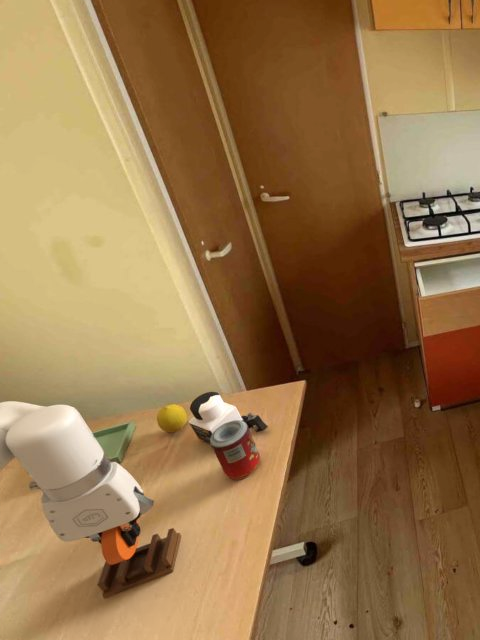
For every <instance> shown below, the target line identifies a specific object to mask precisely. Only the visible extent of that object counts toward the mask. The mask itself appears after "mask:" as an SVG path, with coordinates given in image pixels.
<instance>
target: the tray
mask: <svg viewBox="0 0 480 640" xmlns="http://www.w3.org/2000/svg"><path fill="white" fill-rule="evenodd" d="M135 430H136V425H135V423H134V421H133V420H130V421H127V422H124V423H119V424H116V425H112V426H108V427H105V428H101V429H98V430H94V431H91V432H92V434H93V435H94V437H95V438H96V440H97V441H98V443H99V444H100V446H101V448H102V449H103V451H104V452H105V454H106V456H107V457H108V459H109V460H110V462H116V463H118V464H119V465H120V464H121V463H122V462H123V461H124V457H125V455H126V453H127V449H128V447H129V445H130V443H131V439H132V438H133V435H134V432H135Z"/></svg>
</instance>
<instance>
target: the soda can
mask: <svg viewBox="0 0 480 640" xmlns="http://www.w3.org/2000/svg"><path fill="white" fill-rule="evenodd" d="M209 445H210V446H211V448H212V450H213V452H214V454H215V457H216V458H217V461H218V462H219V465H220V467H221V469H222V470H223V474H224V475H226V476H227V477H229V478H231V479H233V480H242V479H246V478H247V477H249V476H250V475H252V474H253V473H254V472H255V471H256V469H258V467H259V462H260V458H261V457H260V452H259V449H258V447H257V444H256V442H255V440H254V438H253V434H252V432H251V430H250V429H249V428H248V425H247V424H246V423H245V422H244V421H240V420H235V421H230V422H227V423H225V424H223V425H221V426H220V427H218V428H217V429H216V430H215V431H214V432H213V434H212V435H211V438H210V444H209Z"/></svg>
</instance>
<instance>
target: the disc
mask: <svg viewBox="0 0 480 640" xmlns="http://www.w3.org/2000/svg"><path fill="white" fill-rule="evenodd" d="M138 520H139V518H138V519H137V521H136V522H137V524H138V525H139V524H140V523H139V521H138ZM139 526H140V525H139ZM121 532H122V529H121V528H120V526H117V527H114V528H111V529H109V530H106V531H103V532H102V537H101V544H100V549H101V553H102V557H103V560H104V562H107V563H108V564H110V565H113V564H116V563H119V562H122V561H125V560H127V559H129V558H131V557H132V556H133V554H134V552H135V550H136V548H138V544H139V539H140V535H139V536H137V539H136V542H135V545H134V546H131V547H130V546H128V544H127V543H126V541H125V540H124V539H123V537H122V536H121Z"/></svg>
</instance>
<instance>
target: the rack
mask: <svg viewBox="0 0 480 640" xmlns="http://www.w3.org/2000/svg"><path fill="white" fill-rule="evenodd" d="M181 537H182V535H181V532H177V531H176V529H175V528H174V527H172V528H169V529H168V531H167V535H166V536H165V537H163V538H161V537H160V535H159V533H155V534H152V536H151V539H150V543H146V544H145V545H142V546H139V547H137V548H136V550H135V552H134V554H133V556H132V557H131V558H129V559H127V560H125V561H122V562H119V563H116V564H113V565H110V564H108V563H107V562H106V561H104V565H103V568H102V570H101V573H100V576H99V578H98V581H97V584H96V585H97V586H98V588H99V589H100V590H101V591H102V594H101V597H102V598H103V599H107V598H110V597H112V596H115V595H117V594H120V593H121V592H122V593H123V592H124V591H128V590H130V589H131V588H132V589H133V588H135V587H138V586H140V585H142V584H146V583H147V582H150V581H152V580H156V579H159V578H160V577H163V576H166V575H169V574H171V573H173V572H174V569H175V566H176V561H177V555H178V551H179V547H180V543H181Z"/></svg>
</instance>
